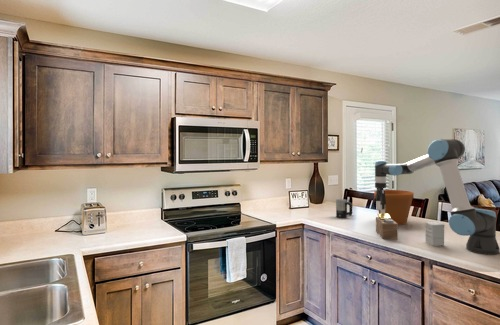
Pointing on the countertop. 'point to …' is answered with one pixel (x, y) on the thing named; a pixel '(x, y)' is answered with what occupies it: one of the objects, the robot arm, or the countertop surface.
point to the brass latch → (383, 216)
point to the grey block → (388, 220)
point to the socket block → (386, 229)
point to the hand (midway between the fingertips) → (380, 211)
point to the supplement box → (434, 233)
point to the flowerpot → (397, 205)
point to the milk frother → (343, 208)
